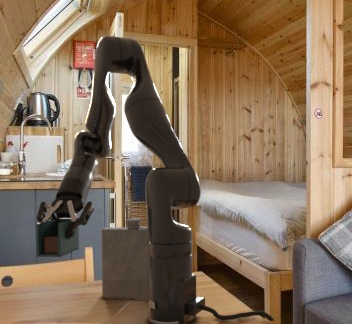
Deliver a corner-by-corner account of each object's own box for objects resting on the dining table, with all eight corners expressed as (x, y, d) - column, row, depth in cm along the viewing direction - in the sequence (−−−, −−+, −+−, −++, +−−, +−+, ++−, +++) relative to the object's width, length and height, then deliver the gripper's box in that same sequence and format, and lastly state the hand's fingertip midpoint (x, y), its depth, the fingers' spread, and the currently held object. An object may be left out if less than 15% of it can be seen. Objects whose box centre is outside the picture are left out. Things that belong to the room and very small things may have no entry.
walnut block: (51, 250, 116) (51, 234, 116) (67, 250, 116) (67, 234, 116) (43, 253, 112) (43, 237, 112) (59, 253, 112) (59, 237, 112)
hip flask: (100, 298, 116) (99, 219, 116) (107, 294, 120) (107, 217, 120) (160, 301, 113) (160, 220, 113) (166, 296, 117) (165, 218, 117)
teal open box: (56, 248, 121) (56, 218, 121) (78, 248, 121) (78, 218, 120) (36, 256, 111) (36, 223, 111) (60, 256, 111) (60, 223, 110)
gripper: (45, 177, 124) (20, 227, 112) (97, 176, 123) (78, 227, 111) (54, 195, 129) (32, 245, 117) (105, 195, 128) (88, 245, 116)
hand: (55, 236), depth 114 cm, fingers closed on teal open box, 6 cm apart
